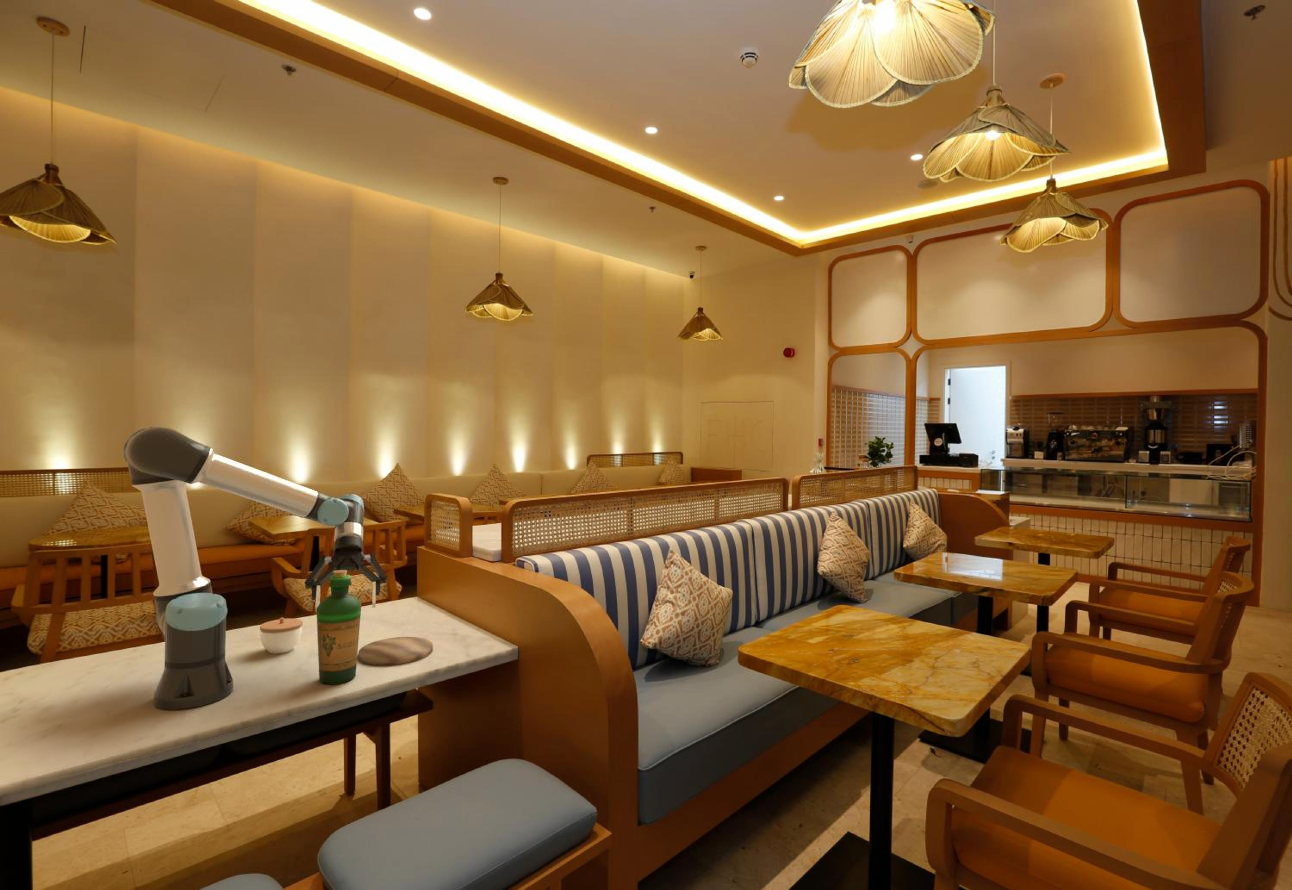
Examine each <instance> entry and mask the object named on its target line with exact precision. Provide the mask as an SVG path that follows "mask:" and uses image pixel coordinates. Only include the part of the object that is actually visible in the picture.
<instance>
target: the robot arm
mask: <svg viewBox="0 0 1292 890" xmlns="http://www.w3.org/2000/svg"><path fill="white" fill-rule="evenodd" d="M122 453H123V457H124V460H125V461H126V463H127V468H128V472H129V476H130V478H129V479H130V482H131V487H133V488H135V489H137V490H138V491H140V492H141V497H142V502H143V508H144V511H145V517H146V521H147V527H148V528H147V529H148V533H149V538H150V543H151V547H152V553H153V559H154V563H155V568H156V574H157V579H158V584H159V585H158V587H157V588H156V589H155V590H154V591H153V592H152V594H153V599H154V605H155V610H156V611H155V621H156V624H157V625H158V628H159V629H160V631H161V632H162V634H163V636H164V669H163V671H162V674H161V677H160V680H159V681H158V685H157V686H156V689H155V691H154V694H153V695H154V696H153V705H154V707H156V708H157V709H161V710H170V711H171V710H172V711H173V710H174V711H175V710H185V709H192V708H198V707H201V706H205V705H210V704H212V703H215V702H217V701H220V700H222V699H224V698H226V697H228V696H229V695H231V694H232V693H233V691H234V679H233V676H232V673H231V671H230V668H229V666H228V663H227V660H226V643H227V641H226V639H227V638H226V635H227V634H226V633H227V631H226V630H227V614H228V608H227V607H228V606H227V601H226V598H224V597H223V596H222V595H220V594H218V593H217V594H216V593H213V589H212V583H211V579H210V578H208V577H205V576H203V573H202V569H201V564H200V559H199V554H198V549H197V543H196V538H195V531H194V525H193V521H192V516H191V510H190V503H189V499H188V495H187V488H186V484H189V485H193V484H197V483H200V484H203V485H205V486H208V487H212V488H215V489H218V490H221V491H224V492H226V493H230V494H233V495H236V496H239V497H242V498H244V499H248V500H250V501H254V502H257V503H261V504H263V505H265V506H269V507H272V508H274V509H278V510H281V511H285V512H286V513H290V514H291V515H292V516H295V517H299V518H300V519H308V520H310V521H313V522H316V523H320V524H321V525H323V526H326V527H334V536H333V537H334V540H333V542H334V543H333V554H332V555H331V556H326V554H321V555H320V558H319V562H318V563H317V565H315V567H314V569H313V570H312V571H311V573H310V574H309V575H308V577H306V580H305V581H304V588H305V589H306V590H311V600H312V601H315V605H314V609H315V610H314V612H315V613H316V614H317V607H318V606H319V604H320V603H321V601H320V600H321V587H322V586H323V585H324V584H325V583H326V582H327V581H329V580H330V577H331V576H333V575H334V573H333V571H337V570H347V572H348V571H349V572H354V571H357V572H358V573H361V574H362V575H363V576H364V577H365V578H366V579H367V580H369V581H370V582H371V583H372V599H371V601H372V604H371V607H372V608H373V609H374V608H375V609H376V605H377V603H376V600H377V599H376V597H377V596H380V595H381V585H382V584H384V585H385V584H387V583H388V575H387V574H386V572H385V571H384V569H383V568H382V566H381V565H380V563H379V562H378V560H377V559H376V555H375V552H370V553H369V554H364V518H365V517H364V516H365V506H364V500H363V499H362V497H361V496H359V495H357V494H353V493H351V494H346V493H345V494H343V495H341V496H339V497H333V496H331V495H328V494H324V493H322V492H319V491H316V490H314V489H311V488H309V487H306V486H304V485H301V484H298V483H296V482H293V481H290V480H287V479H286V478H283V477H280V476H278V475H277V476H276V475H275V474H271V473H269V472H266V471H263V470H260V469H258V468H255V467H252V466H250V465H247V464H244V463H241V462H239V461H236V460H233V459H231V458H228V457H225V456H223V455H221V454H218V453H215V452H214V450H213V448H212V447H211V446H208V445H205V444H203V443H201V442H198V441H197V440H195V439H192V438H191V437H188V436H186V435H185V434H183V433H182V432H179V431H177V430H175V429H172V428H169V427H161V426H151V427H150V426H149V427H144V428H142V429H139V430H137V431H135V432H133V433H132V434H131V435H130V436H129V437H128V438H127V439H126V440H125V444H124V445H123V451H122ZM364 561H367V563H369V564H370V566H371V567H372V569H373V570H374V572H375V573H376V574H375V573H374V572H373V571H372V570H371V569H370V568H369V567H367V566H366V565H365V564H364ZM330 562H331V563H332V564H331V565H330V567H329V568H328V569H327V570H325V571H324V572H323V573H322V571H323V570H324V568H325V566H327V565H328V564H329V563H330ZM321 573H322V574H321Z"/></svg>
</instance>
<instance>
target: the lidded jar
mask: <svg viewBox="0 0 1292 890" xmlns="http://www.w3.org/2000/svg"><path fill="white" fill-rule="evenodd" d="M259 630H260V633H259V634H260V635H259V636H260V637H259V638H260V641H261V644H262V646H263V648H264V649H266V650H267V651H268V653H269V654H274V655H275V654H283V653H288V652H290V651H293V649H294V648H295V647H296V646H297V645H298V644H299V641H300V640H301V638H302V637H301V636H302V632H303V620H302V619H299V618H284V617H280V618H279V619H275V620H274V619H273V620H269V621H266V622H264V623H261V625H260V626H259Z"/></svg>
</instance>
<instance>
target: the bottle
mask: <svg viewBox="0 0 1292 890" xmlns="http://www.w3.org/2000/svg"><path fill="white" fill-rule="evenodd" d="M333 573H334V575H333V576H331V577H330V578H329V580H328V581H329V582H328V585H327V586H328V587H329V588H330V595H328V596H327V597H326V598H324V599H322V600H321V601H320V604H319V606H318V607H317V613H316V628H317V629H316V630H317V631H316V632H317V634H316V635H317V657H318V676H319V677H318V679H319V680H318V681H319V682H321V683H323V684H325V685H338V684H345V683H346V682H349V681H351V680H352V679H354V678H355V677H356V676H357V675H356V673H357V665H358V664H357V661H358V654H359V639H360V629H361V628H360V627H361V614H362V613H361V612H362V602H361V601H360V599H359V598H358V597H356V596H354V595H353V594H349V588H350V586H352V581H351V575H350V574H347V573H348V571H347V570H337V571H333Z"/></svg>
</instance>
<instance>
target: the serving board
mask: <svg viewBox="0 0 1292 890" xmlns="http://www.w3.org/2000/svg"><path fill="white" fill-rule="evenodd" d="M433 645H434V644H433V642H432V641H431V640H429V639H427V638H422V637H417V636H416V637H415V636H398V637H396V636H395V637H390V638H384V639H380V640H375V641H372V642H370V643H367V644H365V645H363V646H362V647H361V648H360V649H358V659H359V661H360V662H362V663H364V664H367V665H371V666H384V667H385V666H397V665H404V664H410V663H414V662H417V661H420V660H422V659H425V658H426V657H429V656H430V655H431V654H432V653H433V650H434V646H433Z"/></svg>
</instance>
